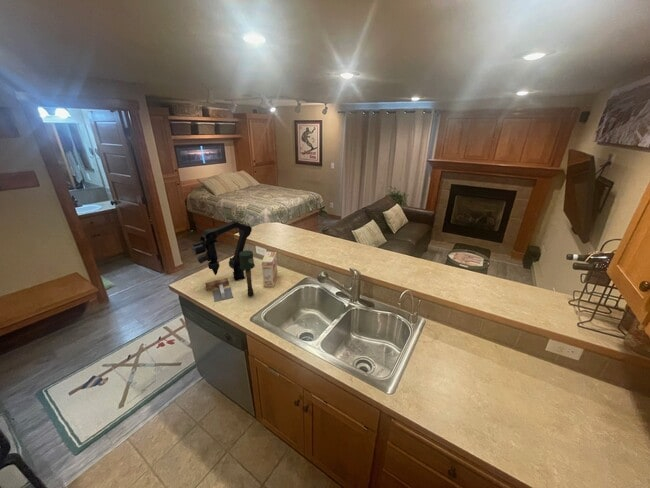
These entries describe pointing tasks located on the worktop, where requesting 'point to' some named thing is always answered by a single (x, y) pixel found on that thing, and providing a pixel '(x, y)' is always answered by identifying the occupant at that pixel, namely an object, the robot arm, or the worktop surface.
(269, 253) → the coffeecake box
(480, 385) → the worktop surface
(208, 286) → the plank
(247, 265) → the potato masher grenade
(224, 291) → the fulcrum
